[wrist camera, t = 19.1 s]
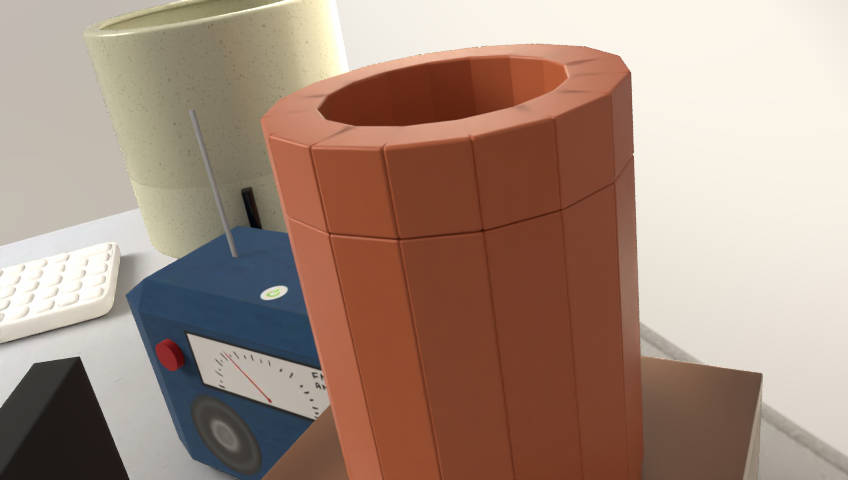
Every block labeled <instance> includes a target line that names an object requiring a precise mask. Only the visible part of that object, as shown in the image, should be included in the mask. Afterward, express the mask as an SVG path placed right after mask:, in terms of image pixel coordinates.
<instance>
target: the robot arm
mask: <svg viewBox="0 0 848 480" xmlns="http://www.w3.org/2000/svg"><path fill="white" fill-rule="evenodd" d="M0 480H129V477H128V475H127V472H126V470H125V467H124V465H123V462H122V460H121V457H120V455H119V452H118V450H117V447H116V445H115V443H114V440H113V438H112V435H111V433H110V430H109V428H108V425H107V423H106V420H105V418H104V415H103V413H102V410H101V408H100V405H99V403H98V401H97V398H96V396H95V393H94V391H93V388H92V386H91V383H90V381H89V378H88V376H87V373H86V371H85V368H84V366H83V363H82V361H81V358H80V356H79V357H73V358H66V359H60V360H53V361H47V362H40V363H34V364H33V366H32V367H31V368H30V370H29V371H28V372H27V374H26V375H25V376H24V378H23V379H22V380H21V382H20V383H19V384H18V386H17V387H16V388H15V390H14V391H13V392H12V394H11V395H10V396H9V398H8V399H7V400H6V401H5V403H4V404H3V405H2V407H1V408H0Z"/></svg>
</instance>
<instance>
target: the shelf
mask: <svg viewBox="0 0 848 480" xmlns="http://www.w3.org/2000/svg"><path fill="white" fill-rule="evenodd" d="M762 382H763V375H762V373H757V372H750V371H743V370H737V369H730V368H723V367H716V366H709V365H703V364H696V363H689V362H682V361H675V360H668V359H662V358H655V357H648V356H641V384H642V413H643V443H644V457H643V460H642V479H641V480H758V466H759V445H760V424H761V401H762ZM261 480H350V479H349V476H348V473H347V469H346V465H345V461H344V457H343V453H342V449H341V445H340V441H339V437H338V433H337V429H336V425H335V421H334V417H333V413H332V409H331V405H329V406H328V407H327V408H326V409H325V410H324V411H323V412H322V414H321V415H320V416H319V417H318V418H317V419H316V420H315V421H314V422H313V423H312V424H311V426H310V427H309V428H308V429H307V430H306V431H305V432H304V433H303V434H302V435H301V436H300V438H299V439H298V440H297V441H296V442H295V443H294V444H293V445H292V446H291V447H290V448H289V450H288V451H287V452H286V453H285V454H284V455H283V456H282V457H281V458H280V459H279V460H278V462H277V463H276V464H275V465H274V466H273V467H272V468H271V469H270V470H269V471H268V472H267V474H266V475H265V476H264V477H263V478H262V479H261Z"/></svg>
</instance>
